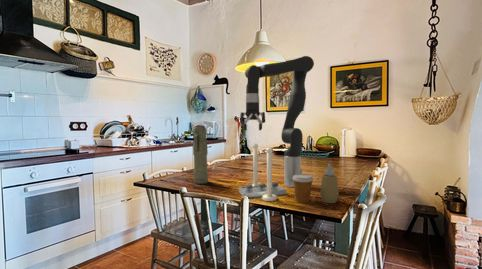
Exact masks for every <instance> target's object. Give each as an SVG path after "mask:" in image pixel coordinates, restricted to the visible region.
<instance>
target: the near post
mask: <svg viewBox="0 0 482 269" xmlns="http://www.w3.org/2000/svg"><path fill="white" fill-rule="evenodd" d="M265 153H266V185H267V194H265V195H263V196H262V197H261V200H263V201H264V202H275V201H277V200H278V195H274V194H272V183H273V148H272V147H267V148H266V149H265Z"/></svg>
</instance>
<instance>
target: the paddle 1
mask: <svg viewBox="0 0 482 269" xmlns="http://www.w3.org/2000/svg"><path fill="white" fill-rule="evenodd" d="M252 184H253V183H247V184H245V187H246V189H248V190H249V189H252V188H253V186H252Z"/></svg>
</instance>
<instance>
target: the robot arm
mask: <svg viewBox="0 0 482 269" xmlns="http://www.w3.org/2000/svg"><path fill="white" fill-rule="evenodd" d="M314 64H315V62H314V59H313V58H312V57H311V56H308V55H303V56H300V57H298V58H294V59H290V60H285V61H280V62H273V63H265V64H263V65H260V66H257V65H254V64H252V65H250V66H248V68H246V69H245V72H244V75H245V77H246V78H247V84H246V87H245V89H246V91H245V95H246V96H245V112H242V111H241V112H240V113H239V114H240V116H239V121H240V122H239V123H240V124H243V125H242V126H243V130H244V131H245V132H246V131H247V130H248V128H247V127H248V125H247V123H248V122H249V121H252V120H253V121H257V122H258V131H262V130H263V124H264V123H266V113H265V112H264V111H262V112H260V95H259V94H260V93H259V92H260V90H259V87H260V86H259V85H260V84H259V83H260V78H266V77H267V78H268V77H275V76H279V75H283V74H286V73H289V72H290V73H291V72H293V76H292V84H291V88H290V94H289V98H288V105H287V110H286V115H285V119H284V123H283V127H282V130H281V136H280V137H281V141H282V142H283V143H284V144H287V145H288V144H289V148H288V149H286V150H285V151H284V155H283V157H284V159H283V160H284V163H283V164H284V165H283V166H284V168H283V170H284V172H283V173H284V178H283V180H284V183H283V184H284V185H283V186H285V187H286V188H294V180H293V175H295V174H303V169H302V166H301V164H302V163H301V161H302V156H301V155H302V150H303V140H304V139H303V131H302V129H300V128H298V127H295V123H296V120H297V119H298V117H299V115H300V114H301V113H302V112H303V110H304V108H305V105H306V104H305V103H306V99H307V98H306V97H307V92H306V87H305V84H306V83H305V82H306V78H307V74H308V73H309V72H311V70H313V68H314V66H315V65H314ZM245 116H246V118H245V119H244V117H245ZM260 117H261V118H260Z"/></svg>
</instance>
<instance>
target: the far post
mask: <svg viewBox="0 0 482 269" xmlns="http://www.w3.org/2000/svg"><path fill="white" fill-rule="evenodd" d="M251 147H252V154H253V155H252V156H253V157H252V160H253V161H252V164H253V166H252V168H253V170H252V171H253V173H252V174H253V183H251V184H252V186H259V185H258V184H259V180H258V179H259V177H258V176H259V175H258V174H259V173H258V172H259V170H258V169H259V167H258V165H259V164H258V158H259V156H258V149H259V145H258V143H253V144H252V146H251Z"/></svg>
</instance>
